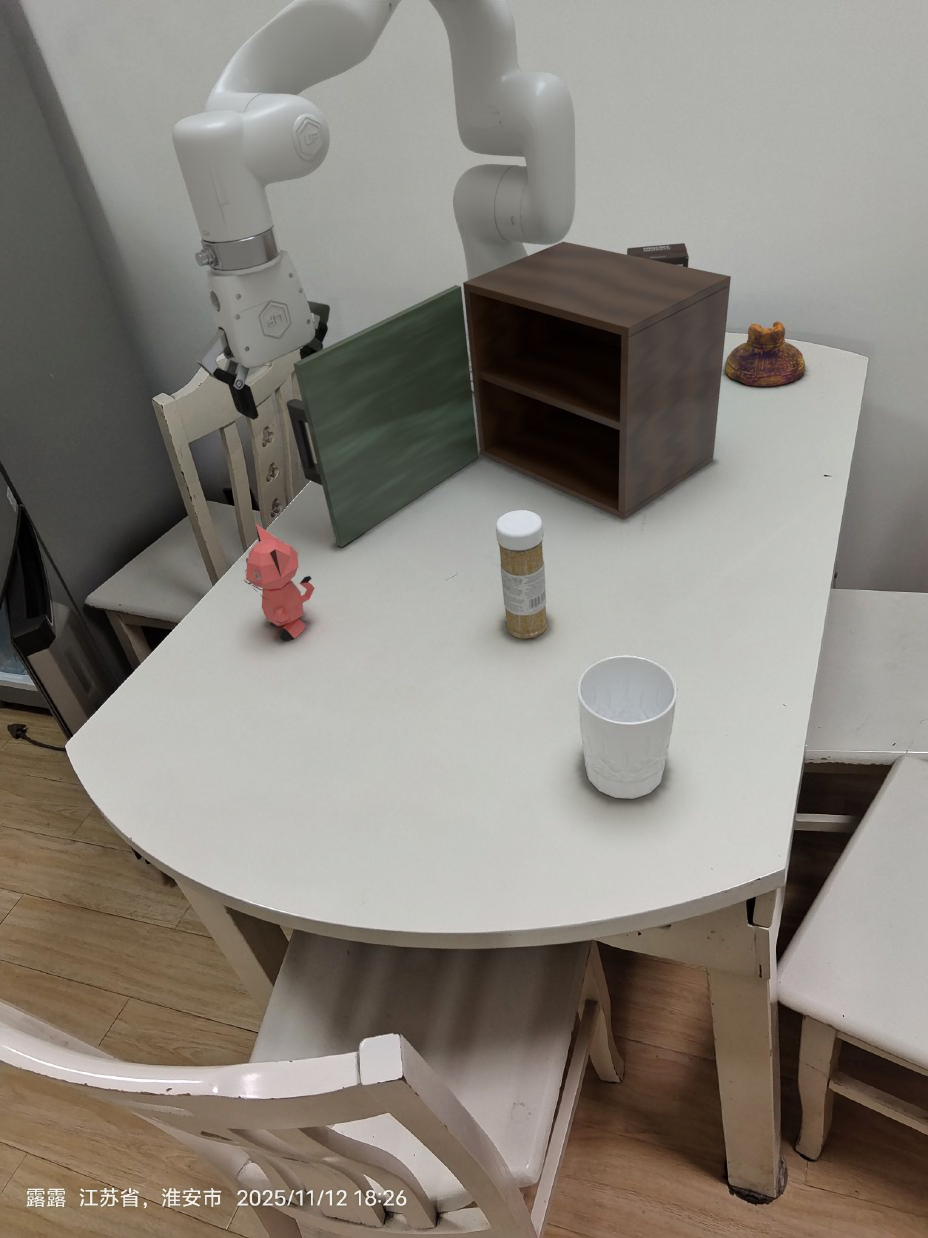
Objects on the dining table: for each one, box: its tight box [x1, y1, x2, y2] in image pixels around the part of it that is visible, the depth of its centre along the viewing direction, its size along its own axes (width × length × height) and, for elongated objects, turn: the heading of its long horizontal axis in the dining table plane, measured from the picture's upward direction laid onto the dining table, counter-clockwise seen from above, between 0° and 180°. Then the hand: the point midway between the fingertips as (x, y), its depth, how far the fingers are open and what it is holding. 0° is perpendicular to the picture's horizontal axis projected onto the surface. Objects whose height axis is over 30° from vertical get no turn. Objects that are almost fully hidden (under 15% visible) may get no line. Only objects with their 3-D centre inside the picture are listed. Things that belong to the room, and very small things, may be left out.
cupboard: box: [462, 241, 732, 521], centre depth 109 cm, size 18×26×24 cm
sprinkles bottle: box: [495, 509, 549, 639], centre depth 87 cm, size 5×5×14 cm
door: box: [285, 284, 479, 548], centre depth 107 cm, size 7×26×24 cm, turn 138°
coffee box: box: [626, 242, 690, 268], centre depth 135 cm, size 9×6×16 cm
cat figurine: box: [242, 523, 315, 642], centre depth 91 cm, size 7×7×12 cm
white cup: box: [576, 654, 678, 800], centre depth 72 cm, size 8×8×10 cm
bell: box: [724, 321, 806, 387], centre depth 129 cm, size 12×12×7 cm
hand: (283, 398), depth 101 cm, fingers open, 9 cm apart
